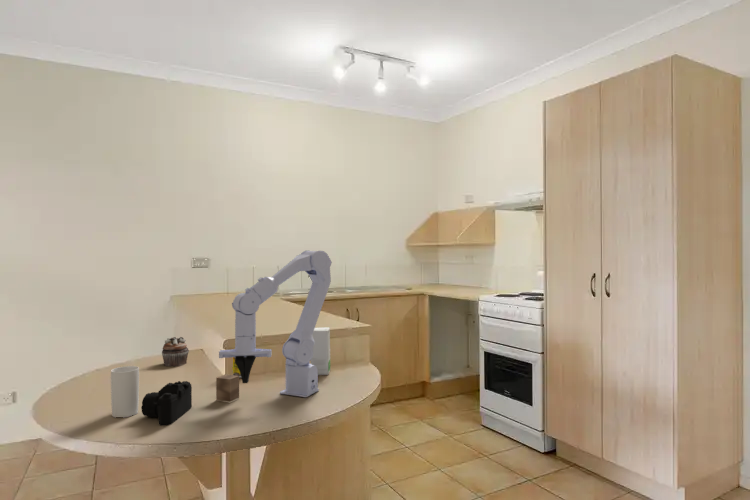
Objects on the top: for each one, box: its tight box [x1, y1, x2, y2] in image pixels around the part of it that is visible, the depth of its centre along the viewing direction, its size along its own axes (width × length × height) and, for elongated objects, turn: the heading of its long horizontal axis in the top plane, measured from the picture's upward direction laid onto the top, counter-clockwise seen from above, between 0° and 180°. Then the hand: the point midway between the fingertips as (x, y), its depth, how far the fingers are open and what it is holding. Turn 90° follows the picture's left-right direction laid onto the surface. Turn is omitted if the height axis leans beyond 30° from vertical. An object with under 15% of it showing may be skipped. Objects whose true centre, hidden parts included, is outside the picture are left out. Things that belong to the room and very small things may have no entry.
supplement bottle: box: [231, 357, 242, 379], centre depth 164 cm, size 6×6×10 cm
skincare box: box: [310, 326, 331, 376], centre depth 169 cm, size 8×7×16 cm
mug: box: [110, 365, 140, 418], centre depth 128 cm, size 10×7×12 cm, turn 11°
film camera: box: [141, 380, 193, 426], centre depth 125 cm, size 15×10×9 cm, turn 177°
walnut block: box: [215, 373, 240, 404], centre depth 139 cm, size 5×4×7 cm
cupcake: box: [161, 336, 190, 367], centre depth 181 cm, size 10×10×10 cm
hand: (245, 382), depth 136 cm, fingers closed
